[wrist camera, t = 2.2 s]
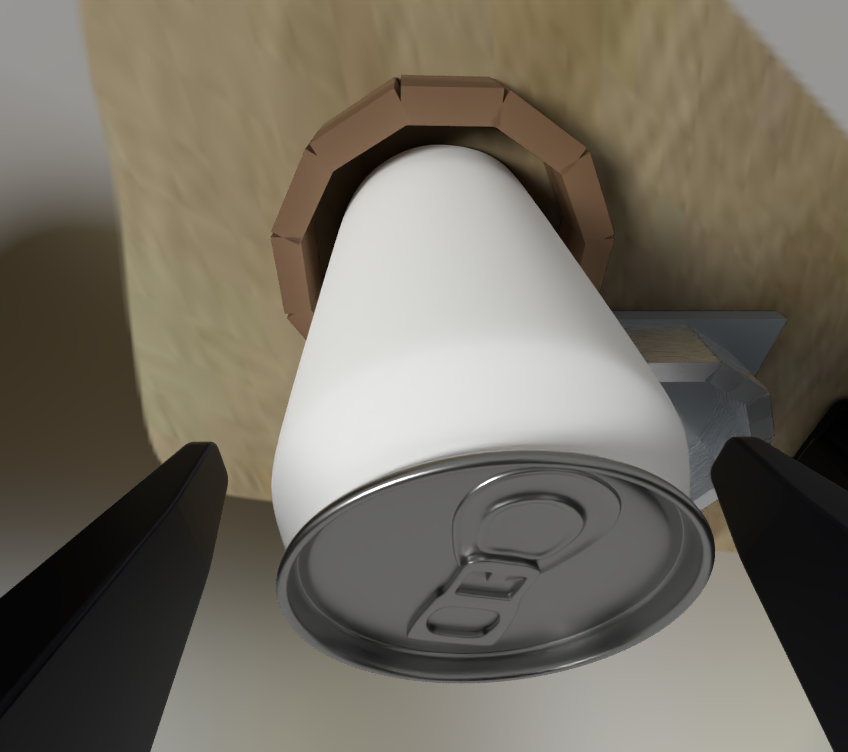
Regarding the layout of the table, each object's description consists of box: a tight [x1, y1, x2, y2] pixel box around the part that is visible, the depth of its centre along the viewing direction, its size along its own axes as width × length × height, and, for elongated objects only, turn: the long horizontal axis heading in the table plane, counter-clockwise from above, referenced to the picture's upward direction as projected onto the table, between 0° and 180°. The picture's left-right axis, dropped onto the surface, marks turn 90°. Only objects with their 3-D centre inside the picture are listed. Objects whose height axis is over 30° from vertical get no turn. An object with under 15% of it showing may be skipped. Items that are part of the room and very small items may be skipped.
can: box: [271, 145, 715, 683], centre depth 11 cm, size 6×6×12 cm
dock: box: [612, 311, 788, 510], centre depth 19 cm, size 10×10×3 cm
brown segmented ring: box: [271, 75, 614, 340], centre depth 15 cm, size 10×10×2 cm
